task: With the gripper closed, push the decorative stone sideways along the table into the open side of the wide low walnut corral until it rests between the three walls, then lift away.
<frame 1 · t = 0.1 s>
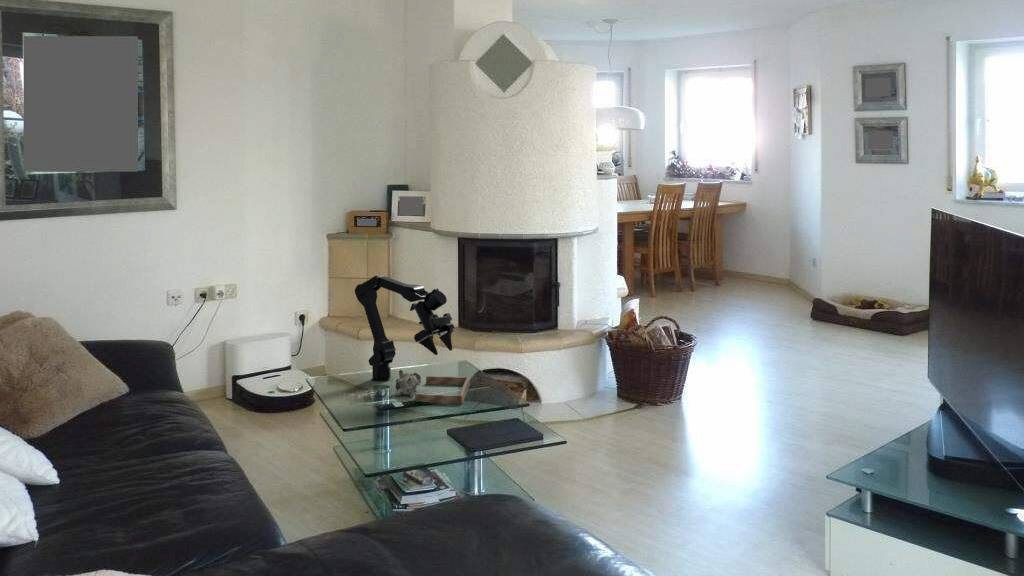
hand: (444, 352, 352), 15 cm above the table, tool tilted 30°, fingers open, 9 cm apart
walnut corral: (441, 393, 350), on the table
decorative stone: (408, 393, 351), on the table
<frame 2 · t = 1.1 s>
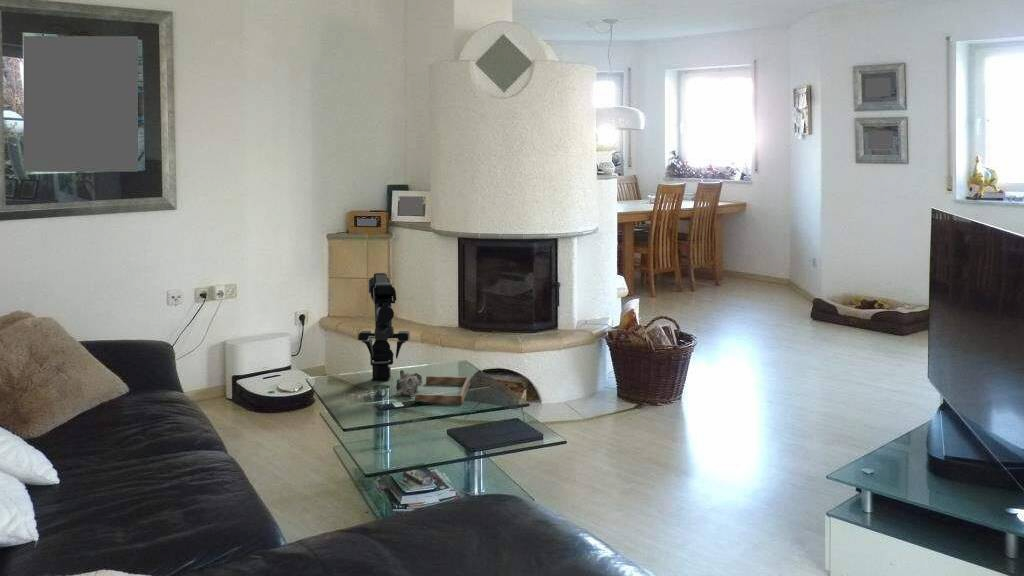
hand: (384, 358, 349), 13 cm above the table, tool pointing down, fingers open, 9 cm apart
nothing on the table moved.
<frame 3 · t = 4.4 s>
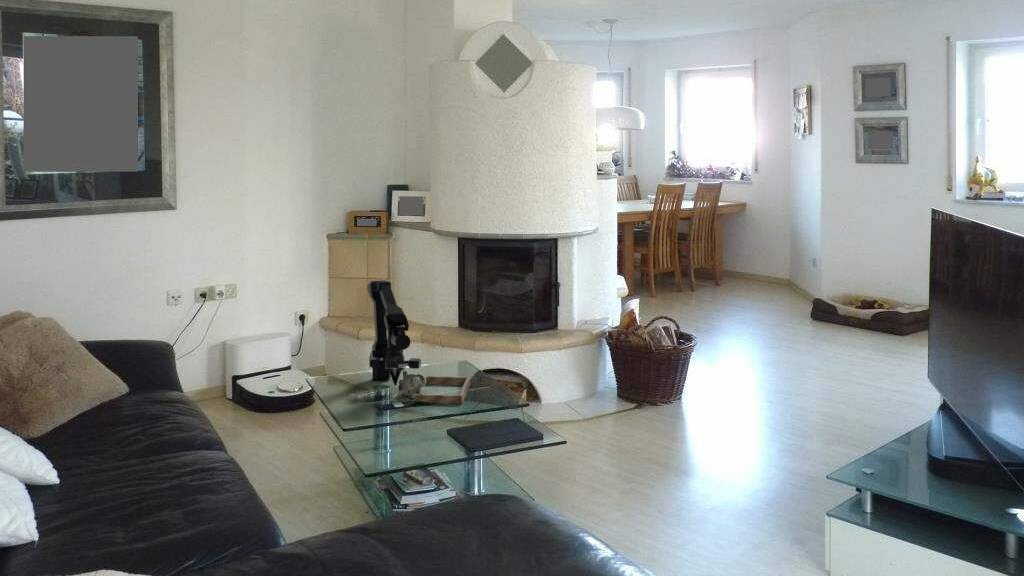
hand: (395, 385, 351), 3 cm above the table, tool pointing down, fingers closed
decorative stone: (411, 394, 348), on the table, touching gripper
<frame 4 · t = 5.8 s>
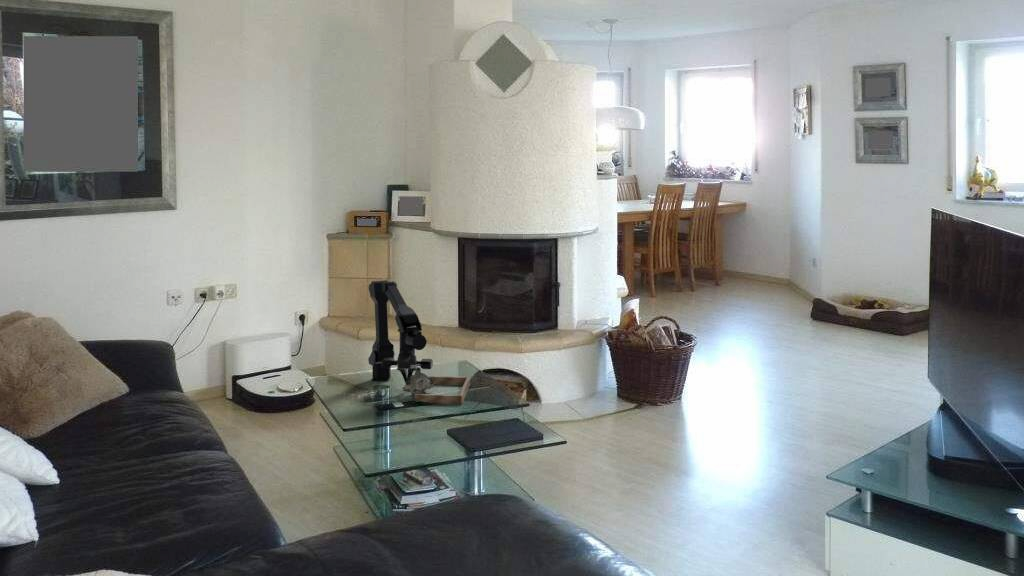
hand: (407, 385, 351), 3 cm above the table, tool pointing down, fingers closed
decorative stone: (414, 392, 348), point 1 cm above the table, touching gripper
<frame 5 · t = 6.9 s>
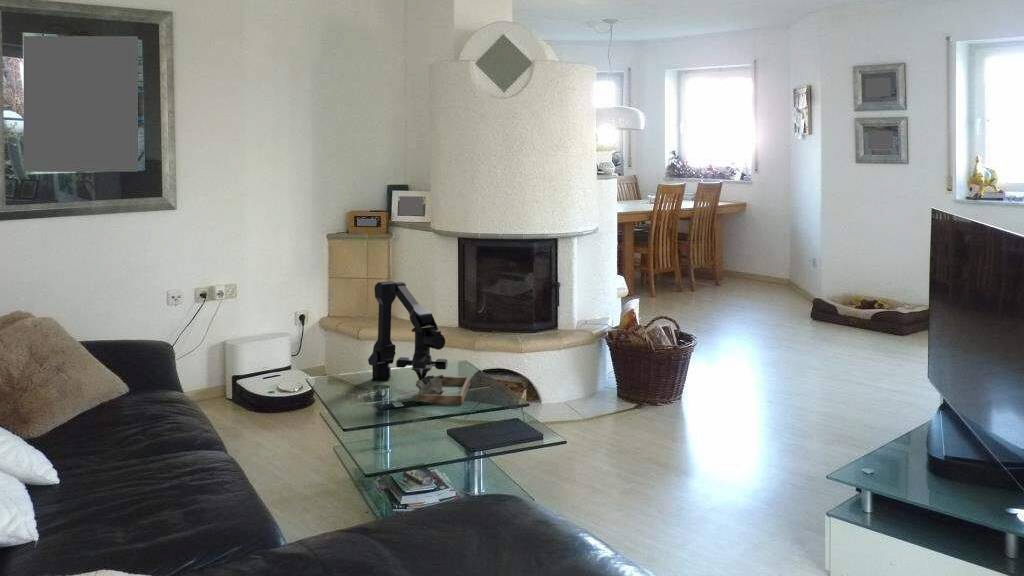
hand: (421, 385, 350), 3 cm above the table, tool pointing down, fingers closed
decorative stone: (421, 386, 346), point 4 cm above the table, touching gripper
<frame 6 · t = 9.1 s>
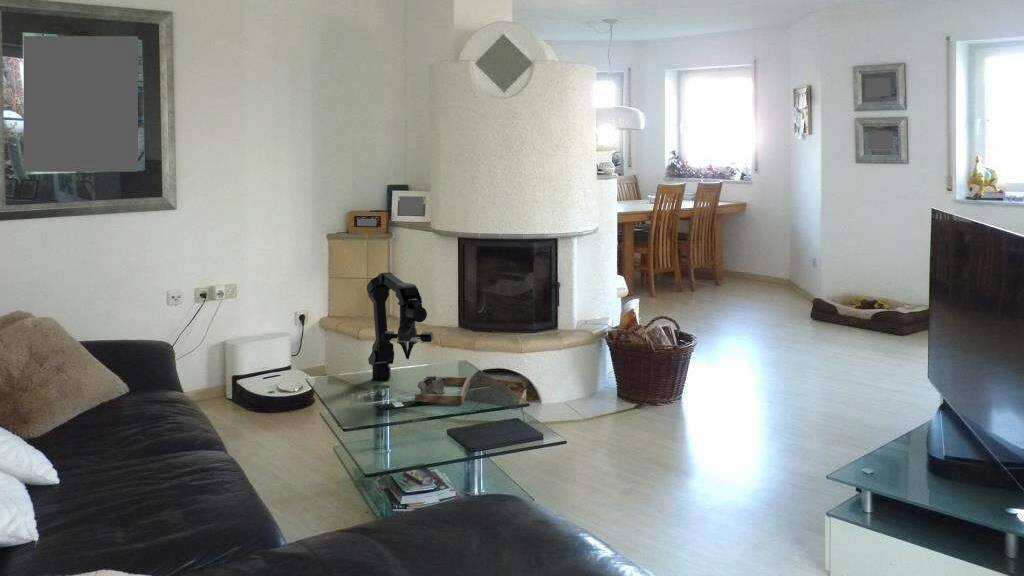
hand: (407, 359, 349), 13 cm above the table, tool pointing down, fingers closed
decorative stone: (423, 385, 345), point 4 cm above the table
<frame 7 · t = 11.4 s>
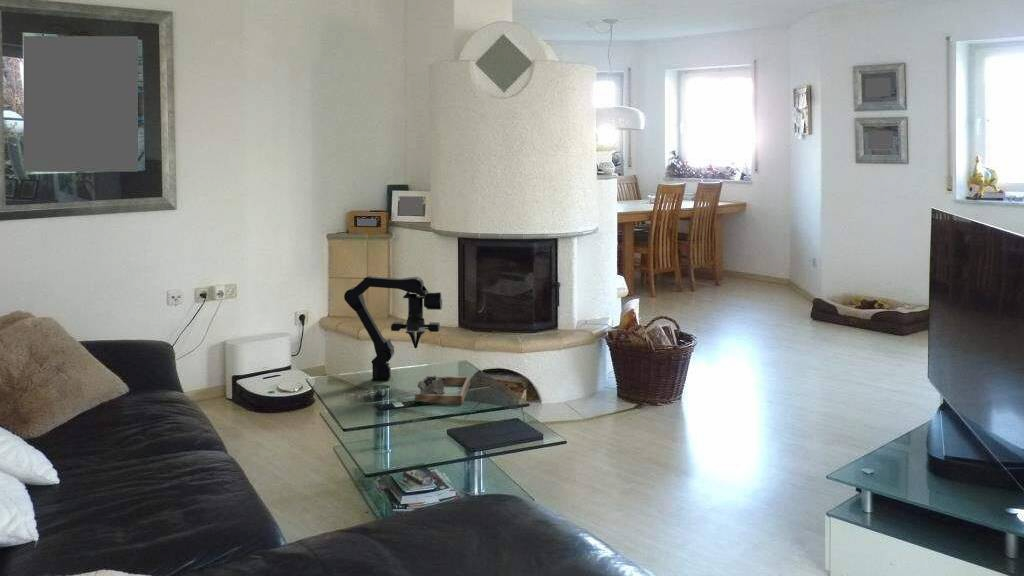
hand: (415, 348, 368), 13 cm above the table, tool pointing down, fingers closed
nothing on the table moved.
at the end: decorative stone inside the target area on the walnut corral (8.2 cm from its centre), point 3.9 cm above the walnut corral's base; decorative stone moved 8.9 cm from its start; the gripper is holding nothing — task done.
